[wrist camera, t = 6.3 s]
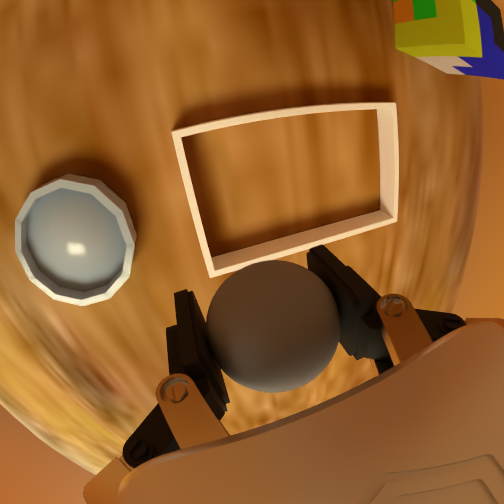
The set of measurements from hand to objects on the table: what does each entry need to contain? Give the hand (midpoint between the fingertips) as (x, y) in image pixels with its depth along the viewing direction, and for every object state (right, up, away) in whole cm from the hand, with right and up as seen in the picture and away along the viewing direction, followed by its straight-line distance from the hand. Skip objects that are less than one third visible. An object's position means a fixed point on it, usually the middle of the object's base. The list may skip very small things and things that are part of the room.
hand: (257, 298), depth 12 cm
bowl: (-17, +3, +11) cm, 20 cm away
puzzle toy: (+20, +29, +9) cm, 37 cm away
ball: (0, 0, +1) cm, 1 cm away
